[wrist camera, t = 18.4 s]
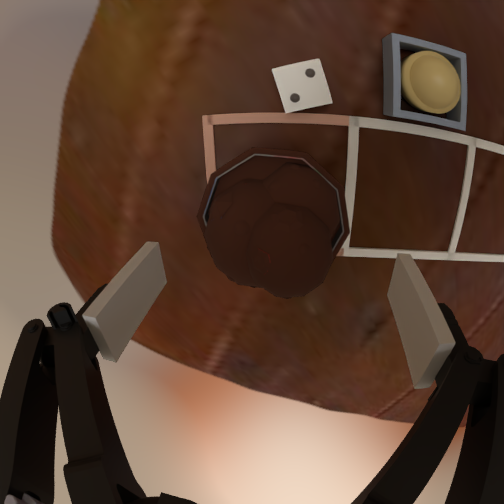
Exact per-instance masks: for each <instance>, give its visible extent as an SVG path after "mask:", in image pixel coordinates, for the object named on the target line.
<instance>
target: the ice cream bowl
mask: <svg viewBox="0 0 504 504" xmlns="http://www.w3.org/2000/svg"><path fill="white" fill-rule="evenodd" d="M197 218H198V221H199V224H200V227H201V229H202V232H203V235H204V238H205V240H206V243H207V248H208V250H209V251H210V254H211V257H212V258H213V260H214V263H215V265H216V267H217V268H218V269H219V270H221V271H222V272H223V273H224V274H226V275H227V277H228V279H229V280H231V281H234V282H236V283H237V284H239V285H246V286H251V287H253V288H254V287H260V288H264V289H265V290H267V291H268V292H270V293H271V294H273V295H274V296H276V297H282V298H286V299H289V298H292V297H299V296H305V295H306V294H308V293H309V292H310V291H312V290H313V289H315V288H316V287H317V286H319V285H320V284H322V283H323V281H324V279H325V277H326V275H327V272H328V270H329V268H330V266H331V264H332V262H333V261H334V259H335V257H336V256H337V254H338V252H339V251H340V249H341V247H342V246H343V244H344V242H345V240H346V239H347V237H348V235H349V234H350V228H349V220H348V213H347V206H346V200H345V193H344V187H343V186H342V185H341V184H340V183H339V182H338V181H337V180H336V179H335V178H334V177H333V176H331V175H330V174H329V173H328V172H327V171H326V170H325V169H324V168H323V167H322V166H321V165H320V164H318V163H317V162H316V161H315V160H314V159H313V158H312V157H311V156H310V155H308V154H307V153H306V152H300V151H290V150H280V149H268V148H255V147H252V148H251V149H249V150H248V151H246V152H244V153H243V154H241V155H239V156H238V157H236V158H235V159H233V160H232V161H230V162H228V163H227V164H225V165H224V166H222V167H221V168H219V169H218V170H216V171H215V172H213V173H212V174H211V175H210V178H209V181H208V184H207V187H206V190H205V193H204V196H203V199H202V202H201V205H200V208H199V211H198V215H197Z"/></svg>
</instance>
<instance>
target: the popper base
mask: <svg viewBox="0 0 504 504" xmlns="http://www.w3.org/2000/svg"><path fill="white" fill-rule="evenodd" d="M382 45H383V72H384V104H383V115H388V116H393V117H400V118H406V119H412V120H418V121H423V122H428V123H433V124H438V125H443V126H447V127H451V128H456V129H460V130H464V131H465V130H466V113H467V65H466V54H465V53H463V52H460V51H457V50H454V49H451V48H448V47H445V46H442V45H438V44H435V43H431V42H428V41H424V40H420V39H417V38H413V37H408V36H404V35H399V34H395V33H391V34H389V35H387V36H386V37H384V38H383V39H382ZM400 49H405V50H409V51H414V52H420V51H433V52H436V53H438V54H440V55H442V56H444V57H445V58H446V59H447V60H448V61H449V62H450V63H451V64H452V65H453V67H454V68H455V70H456V72H457V74H458V77H459V80H460V85H461V93H460V98H459V101H458V103H457V104H456V106H455V107H454V108H453V109H452V110H450V111H448V112H447V117H446V119H444V118H439V117H435V116H430V115H425V114H420V113H415V112H409V111H404V110H400V106H401V67H400Z"/></svg>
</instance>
